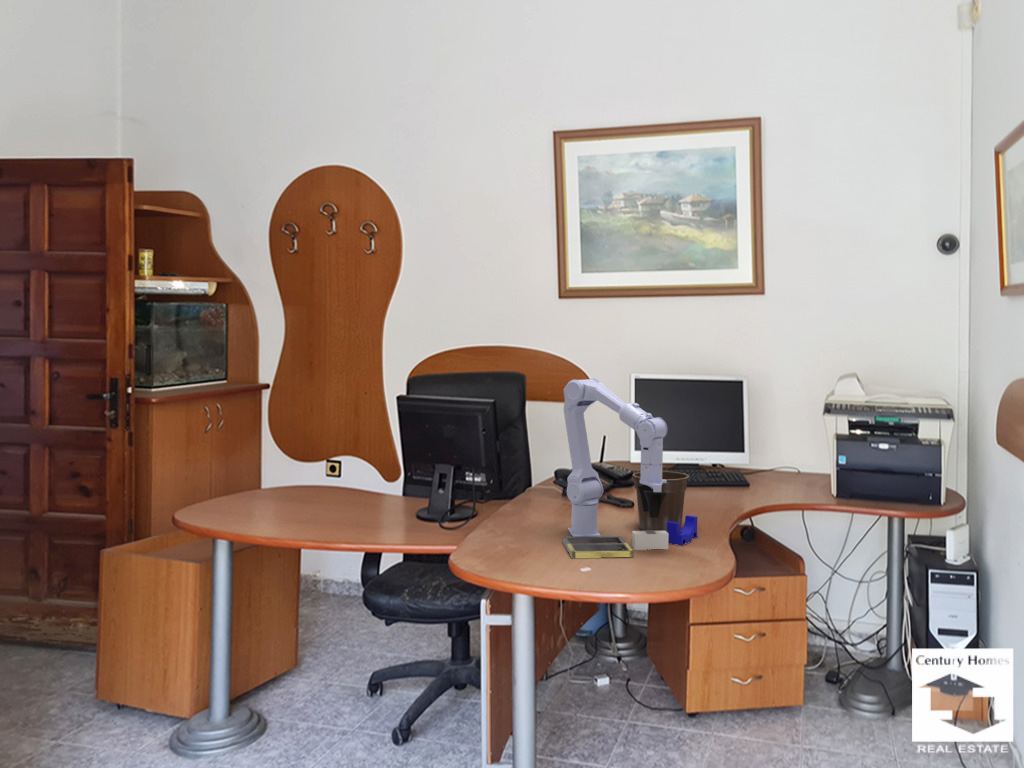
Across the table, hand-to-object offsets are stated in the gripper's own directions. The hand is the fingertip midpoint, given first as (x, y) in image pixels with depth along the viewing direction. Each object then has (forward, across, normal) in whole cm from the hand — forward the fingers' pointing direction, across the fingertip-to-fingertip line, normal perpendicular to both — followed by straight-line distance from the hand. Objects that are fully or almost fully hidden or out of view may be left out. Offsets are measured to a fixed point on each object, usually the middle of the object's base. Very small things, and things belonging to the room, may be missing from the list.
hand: (650, 514), depth 235 cm
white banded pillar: (+9, 0, 0) cm, 9 cm away
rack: (+9, -1, +14) cm, 17 cm away
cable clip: (+10, +8, -12) cm, 17 cm away
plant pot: (+9, +22, -8) cm, 25 cm away
